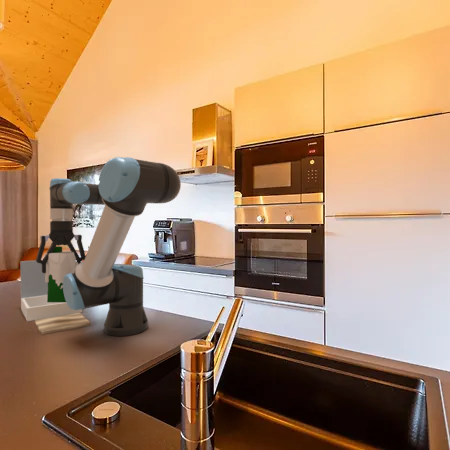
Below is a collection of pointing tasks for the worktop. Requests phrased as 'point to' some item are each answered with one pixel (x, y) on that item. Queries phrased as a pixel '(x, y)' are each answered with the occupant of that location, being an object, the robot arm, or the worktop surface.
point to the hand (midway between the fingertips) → (61, 280)
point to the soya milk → (59, 272)
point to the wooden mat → (61, 323)
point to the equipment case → (38, 294)
